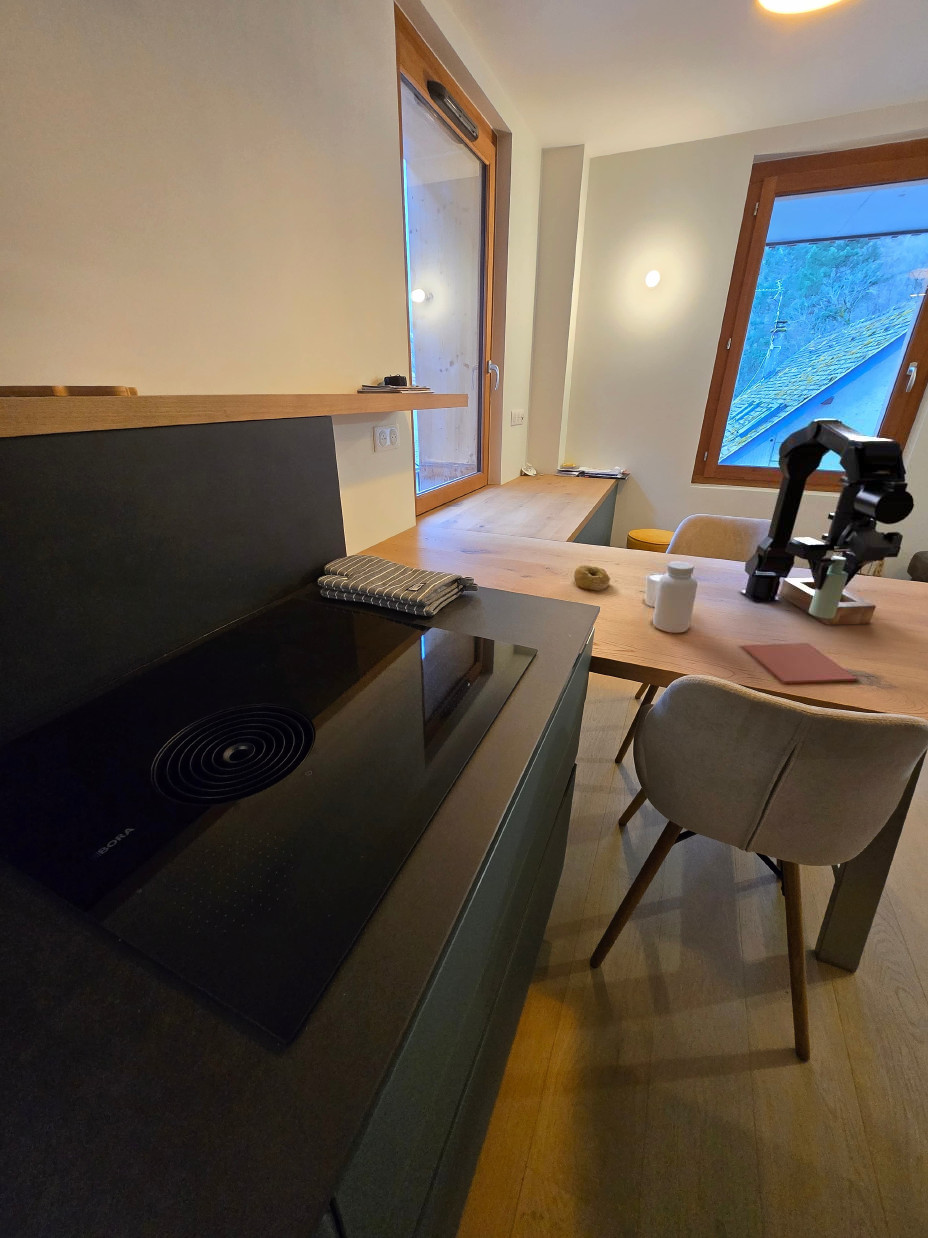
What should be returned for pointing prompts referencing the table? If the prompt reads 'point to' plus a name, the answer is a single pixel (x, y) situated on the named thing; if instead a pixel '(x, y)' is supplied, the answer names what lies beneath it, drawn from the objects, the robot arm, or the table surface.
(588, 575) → the bagel
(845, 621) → the holder
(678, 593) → the pill bottle
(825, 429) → the robot arm
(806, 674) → the mat
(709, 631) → the table surface
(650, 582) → the white short cylinder
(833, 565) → the bottle
